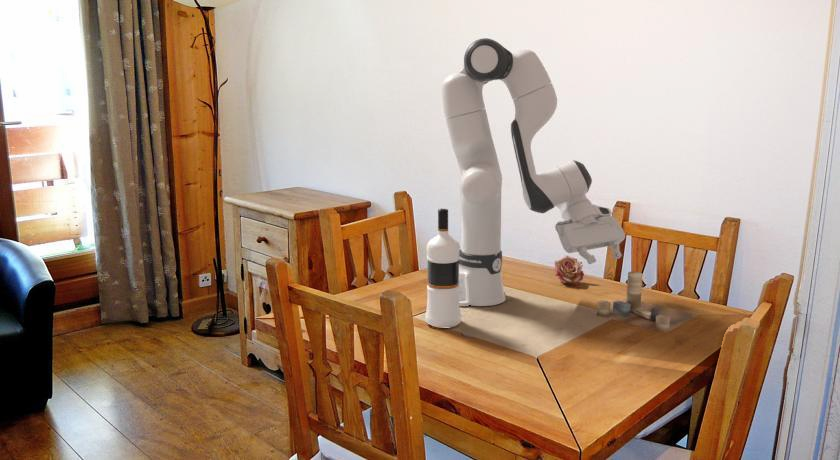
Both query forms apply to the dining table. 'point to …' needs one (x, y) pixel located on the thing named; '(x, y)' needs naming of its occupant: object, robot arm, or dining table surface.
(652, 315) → the leg
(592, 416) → the dining table surface
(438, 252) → the vodka
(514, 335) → the dining table surface
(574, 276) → the flower
